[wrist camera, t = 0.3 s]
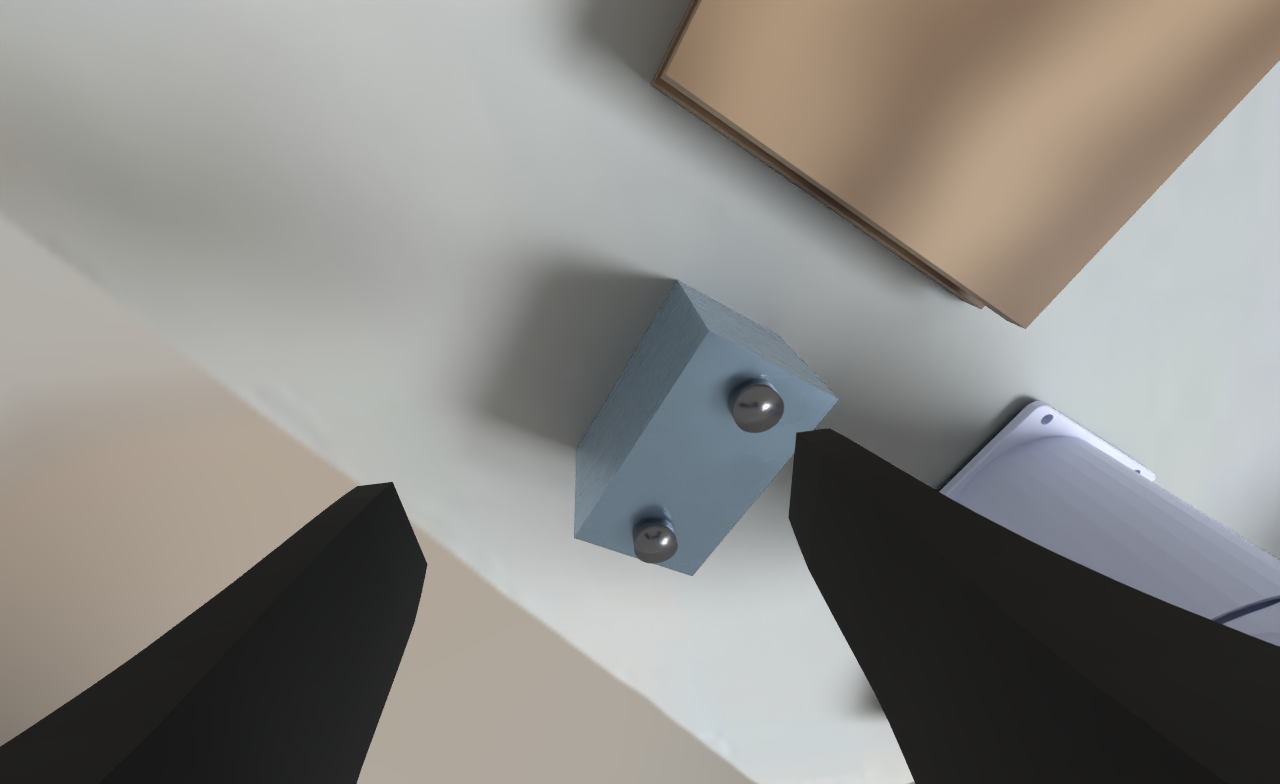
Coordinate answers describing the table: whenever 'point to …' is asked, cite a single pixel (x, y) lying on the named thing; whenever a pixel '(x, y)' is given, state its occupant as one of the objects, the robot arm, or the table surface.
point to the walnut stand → (974, 117)
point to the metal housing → (692, 433)
